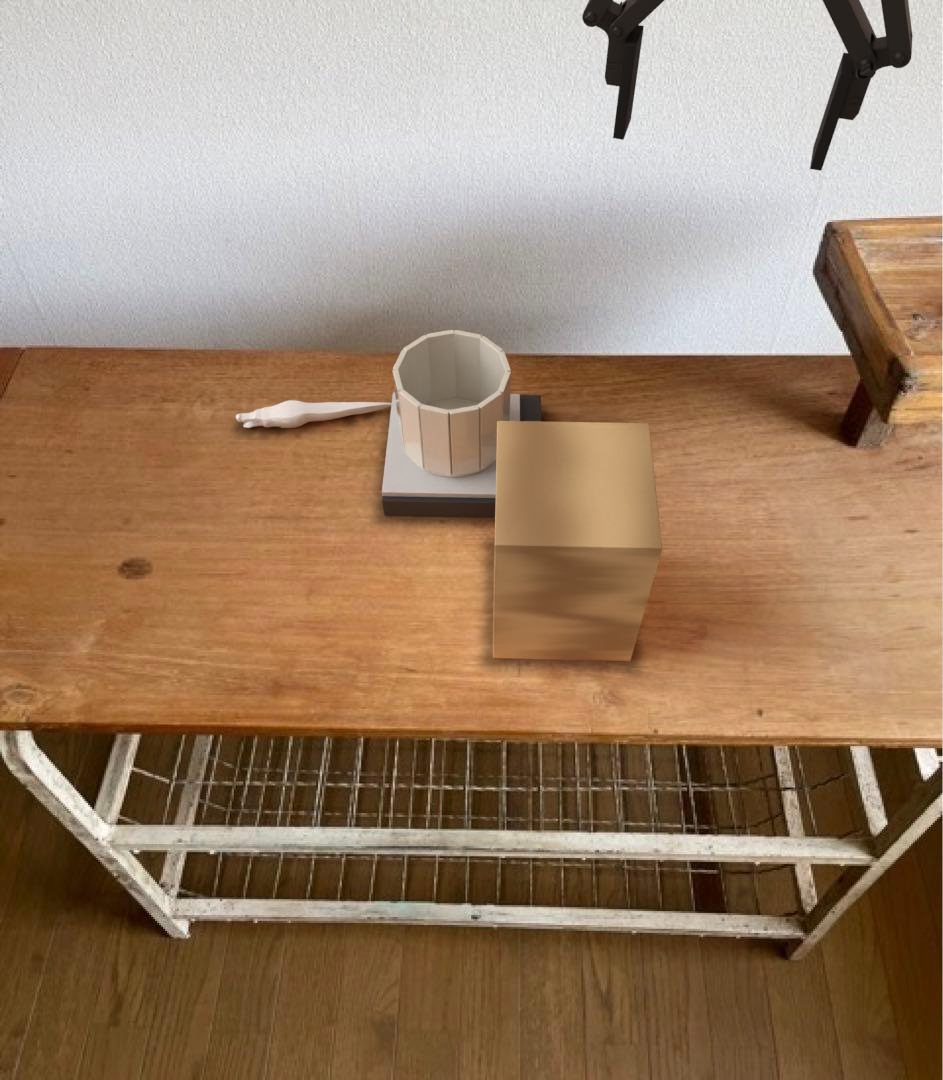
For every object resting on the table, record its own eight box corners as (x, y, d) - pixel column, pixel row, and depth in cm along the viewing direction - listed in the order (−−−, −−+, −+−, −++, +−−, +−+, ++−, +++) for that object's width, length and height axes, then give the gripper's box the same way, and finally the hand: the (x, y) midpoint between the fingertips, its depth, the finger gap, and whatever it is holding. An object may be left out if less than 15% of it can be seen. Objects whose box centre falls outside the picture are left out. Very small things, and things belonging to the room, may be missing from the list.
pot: (519, 411, 85) (522, 342, 78) (490, 489, 79) (491, 423, 72) (421, 390, 86) (415, 321, 79) (386, 465, 81) (377, 398, 74)
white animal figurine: (238, 437, 87) (234, 424, 85) (238, 416, 88) (234, 403, 87) (395, 420, 88) (394, 407, 86) (393, 400, 90) (391, 386, 88)
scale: (539, 410, 88) (541, 390, 86) (541, 518, 81) (542, 499, 79) (395, 408, 89) (393, 388, 87) (384, 516, 81) (381, 496, 79)
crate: (622, 547, 79) (649, 422, 66) (630, 661, 73) (662, 548, 60) (495, 545, 79) (497, 420, 66) (492, 658, 73) (494, 545, 60)
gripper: (1062, -248, 46) (904, 141, 64) (582, -284, 51) (557, 89, 68) (1073, -196, 42) (901, 204, 60) (549, -240, 47) (531, 145, 64)
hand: (717, 144), depth 64 cm, fingers open, 13 cm apart
